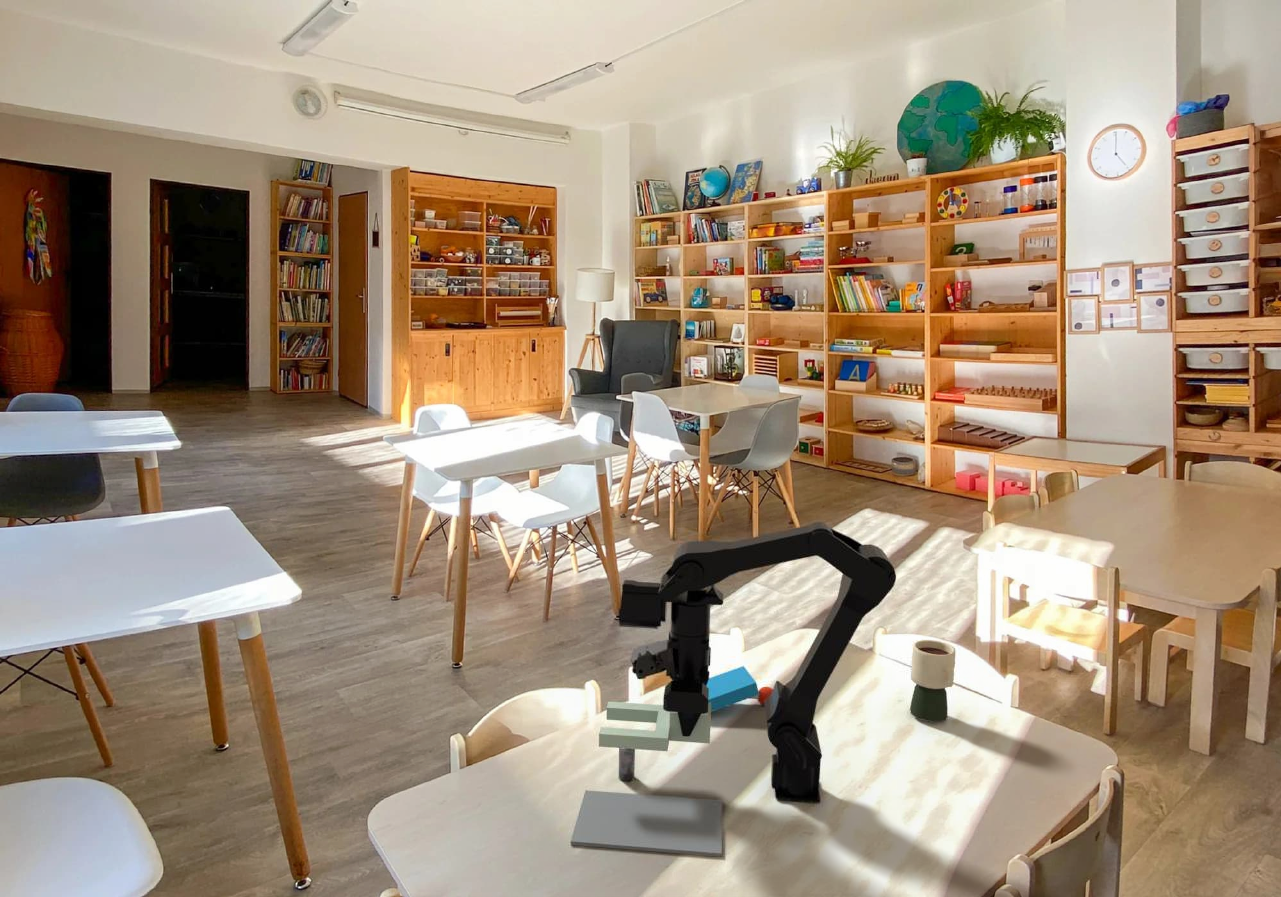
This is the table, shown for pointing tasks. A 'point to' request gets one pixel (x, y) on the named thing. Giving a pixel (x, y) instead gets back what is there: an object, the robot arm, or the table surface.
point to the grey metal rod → (626, 764)
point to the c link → (650, 739)
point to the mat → (649, 823)
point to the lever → (734, 689)
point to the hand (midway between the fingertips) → (686, 728)
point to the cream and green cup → (931, 678)
